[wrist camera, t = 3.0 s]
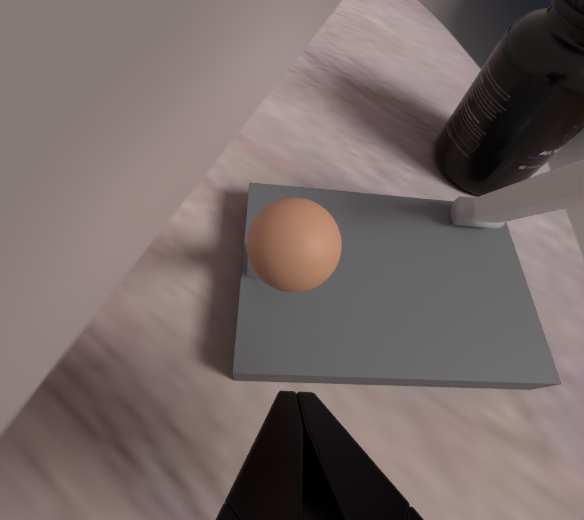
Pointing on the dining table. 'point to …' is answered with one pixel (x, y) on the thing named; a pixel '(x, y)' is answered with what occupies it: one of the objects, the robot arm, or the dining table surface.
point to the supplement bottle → (519, 103)
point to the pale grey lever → (523, 198)
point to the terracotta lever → (293, 245)
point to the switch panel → (395, 303)
